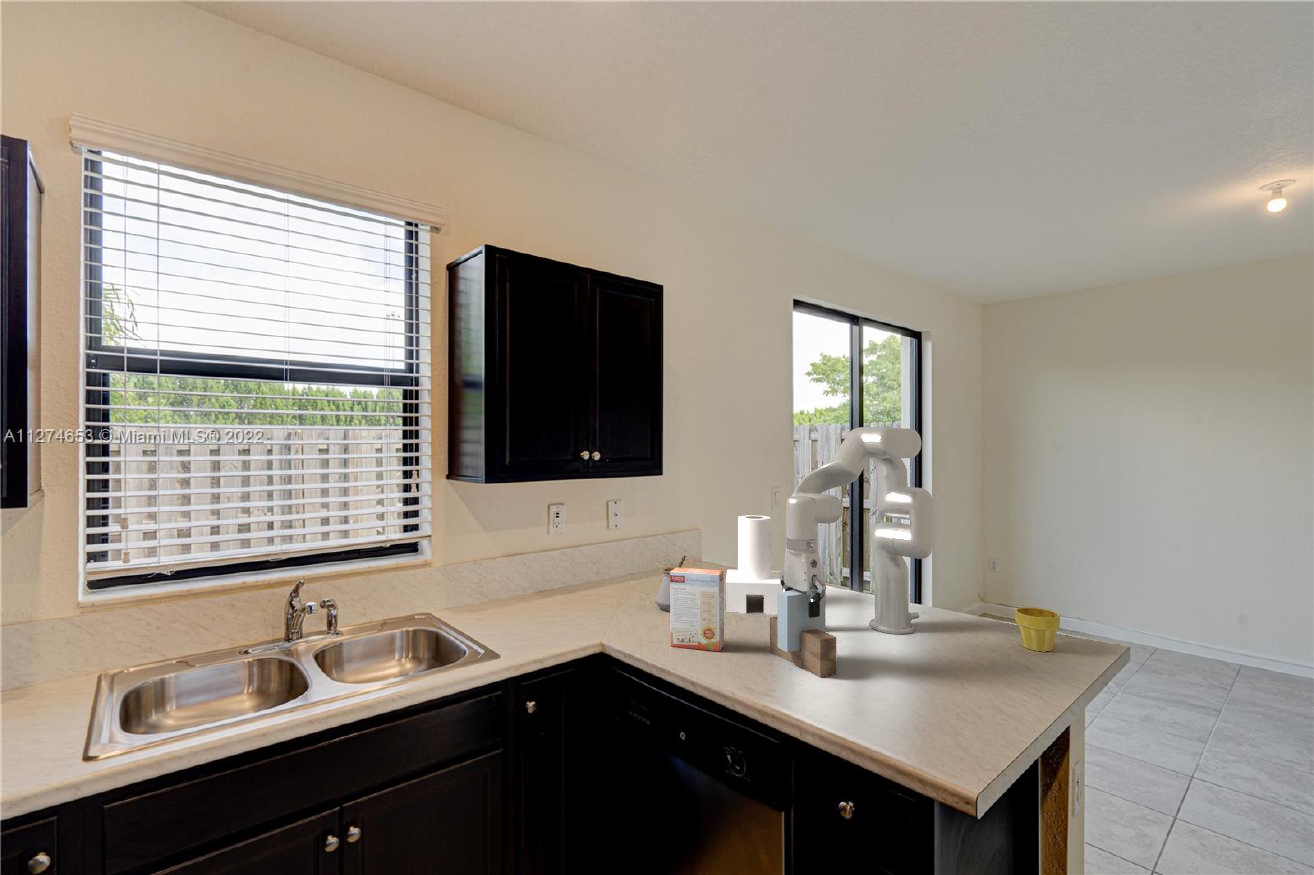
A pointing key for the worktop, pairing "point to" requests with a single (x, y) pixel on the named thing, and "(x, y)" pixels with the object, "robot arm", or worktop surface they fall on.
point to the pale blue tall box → (796, 619)
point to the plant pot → (1037, 627)
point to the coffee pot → (666, 588)
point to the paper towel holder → (753, 567)
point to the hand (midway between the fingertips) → (801, 611)
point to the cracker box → (697, 608)
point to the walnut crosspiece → (808, 650)
